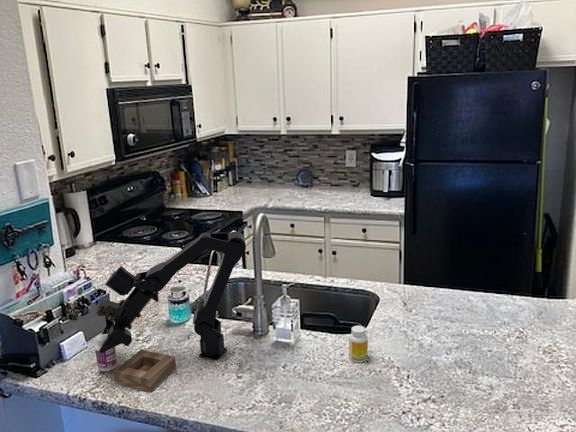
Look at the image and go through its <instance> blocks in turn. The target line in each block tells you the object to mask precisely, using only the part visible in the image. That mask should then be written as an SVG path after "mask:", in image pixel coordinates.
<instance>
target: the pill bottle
mask: <svg viewBox="0 0 576 432" xmlns="http://www.w3.org/2000/svg"><path fill="white" fill-rule="evenodd" d="M101 334H102V333H101ZM101 334H100V335H97V337H96V338H95V339H96V344H95V346H94V351H95V356H96V362H97V369H98V370H99V371H101V372H109V371H113V370H115V369H116V367H117V366H118V359H117V353H116V346H115V347H113V348H111V349H109V350H107V351H105V352H103V353H100V352H99V350H100V348H101V346H102V344H103V343H104V341H105V339H106V338H107V336H108V334H102V335H101Z"/></svg>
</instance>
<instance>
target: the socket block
mask: <svg viewBox="0 0 576 432" xmlns="http://www.w3.org/2000/svg"><path fill="white" fill-rule="evenodd" d="M176 370H177V365H176V356H173V355H169V354H163V353H158V352H154V351H149V350H144V349H140V350H139V351H138V352H137V351H136V353H135V354H133V355H132V356H131V357H129V358H128V359H127V360H126V361H124V362H123V363H121V365H119V366H118V367H117V368H114V369H113V370H112V373H113V377H114V378H113V379H114V385H119V386H124V387H127V388H132V389H136V390H138V391H139V390H141V391H144V392H149V393H152V392H153V391H154V390H155V389H156V388H157V387H158V386H159V385H161V383H163V382H164V381H165V380H166V379H167V378H168V377H169V376H170V375H171V374H173V373H174V372H175V371H176Z"/></svg>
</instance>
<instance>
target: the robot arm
mask: <svg viewBox="0 0 576 432" xmlns="http://www.w3.org/2000/svg"><path fill="white" fill-rule="evenodd" d="M246 245H247V243H246V238H245V237H244V235H243V234H242V233H241V232H240V231H237V230H235V231H231V232H207V231H206V232H202V233H200V235H199V236H198V237H197V238H196V239H194V240H193V241H191V242H190V243H189V244H188V245H186V246H185V247H184V248H182V249H181V250H180V251H178V252H176V253H175V255H173V256H172V257H171V258H169V259H168V260H165V261H163V262H159V263H158V264H155V265H154V266H152V267H150V268H149V269H148V270H147V271H142V272H138V273H136V274H135V275H134V274H133V273H132V272H129V271H128V270H127V269H126V268H125V267H123V265H119V267H118V268H117V269H116V270H115V271H113V272H112V273H111V275H110V276H109V277H108V278H107V280H106V282H105V283H104V285H105V286H106V287H108V288H109V289H111V290H112V292H114V293H116V294H118V295H119V296H123V297H125V296H127V297H126V299H121V300H119V302H116V301H112V300H107V299H101V298H100V299H98V302H97V305H96V307H95V311H96V315H97V316H98V317H104V319H105V325H104V327H103V330H102V332H101V334H100V335H102V334H108V336H107V338H106V339H105V341H104V343H103V344H102V346H101V348H100V350H99V352H100V353H103V352H105V351H107V350H109V349H111V348H113V347H115V348H116V347H117V346H120V345H124V346H125V347H129V345H131V343H132V342H133V337H132V333H131V331H130V330H131V329H132V328H133V326H132V324H133V323H134V321H135V320H136V319H140V317H141V316H142V314H141V312H142V311H143V310H144V309H145V308H146V307H147V305H148V304H149V303H150V301H151V300H153V301H154V302H156V303H159V300H160V299H159V292H160V291H162V290H163V289H164V288H165V287H166V286H167V284H169V282H170V281H171V280H172V279H173V277H174V276H175V275H176V274H177V273H178V272H179V271H181V270H182V269H183V268H184V267H186V266H187V265H189V264H190V263H191V262H192V261H194V260H195V259H196V258H197V257H199V256H200V255H202V254H203V253H204V252H206V251H208V250H209V251H214V252H217V253H221V254H222V258H221V261H220V264H219V267H218V269H217V271H216V274H215V276H214V279H213V281H212V284H211V286H210V290H209V291H208V294H207V297H206V299H205V301H204V302H203V303H202V304H201V303H199V302H198V303H197V307H196V310H195V312H194V313H193V318H192V325H193V330H194V333H195V334H197V335H198V336H199V337H200V339H199V349H200V354H199V355H198V356H199V358H203V359H209V360H214V361H218V360H220V358H222V357H223V355H224V354H225V353H227V352H228V347H225V339H224V338H225V337H224V333H222V322H221V321H220V320H219V319H218V318H217V310H218V308H219V305H220V302H221V300H222V298H223V295H224V292H225V290H226V287H227V284H228V282H229V280H230V277H231V274H232V272H233V269H234V268H235V266H236V265H237V264H238V262H239V261H241V258H242V257H243V255H244V254H245V252H246V250H247V246H246Z"/></svg>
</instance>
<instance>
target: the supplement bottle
mask: <svg viewBox="0 0 576 432" xmlns="http://www.w3.org/2000/svg"><path fill="white" fill-rule="evenodd" d="M366 332H367V331H366V327H365V326H362V325H354V326H352V327H351V333H350V334H349V337H348V357H349V360H350V359H351V360H350V361H352V362H354V361H355V362H354V363H364V362H365V360H366V361H367V360H368V346H369V345H368V343H369V342H368V341H369V340H368V339H369V338H368V335H367V334H366ZM363 361H364V362H363Z"/></svg>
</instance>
